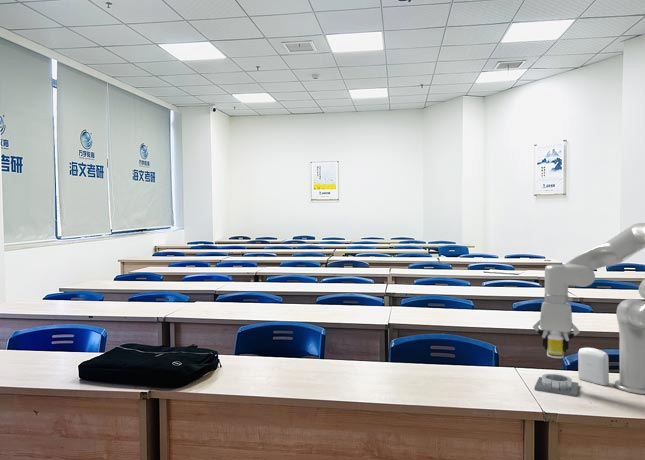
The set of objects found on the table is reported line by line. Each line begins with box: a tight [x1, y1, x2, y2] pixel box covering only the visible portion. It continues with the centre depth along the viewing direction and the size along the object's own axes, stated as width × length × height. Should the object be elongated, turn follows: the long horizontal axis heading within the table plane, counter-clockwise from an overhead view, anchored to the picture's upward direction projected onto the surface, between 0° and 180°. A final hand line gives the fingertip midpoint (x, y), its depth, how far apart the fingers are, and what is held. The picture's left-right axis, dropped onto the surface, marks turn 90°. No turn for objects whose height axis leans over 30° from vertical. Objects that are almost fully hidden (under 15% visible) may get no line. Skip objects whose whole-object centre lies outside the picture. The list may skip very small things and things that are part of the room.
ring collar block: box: [534, 373, 579, 397], centre depth 168 cm, size 13×13×4 cm
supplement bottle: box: [546, 331, 565, 359], centre depth 167 cm, size 5×5×10 cm
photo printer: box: [577, 347, 610, 386], centre depth 174 cm, size 10×4×12 cm, turn 32°
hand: (555, 349), depth 168 cm, fingers closed on supplement bottle, 5 cm apart
